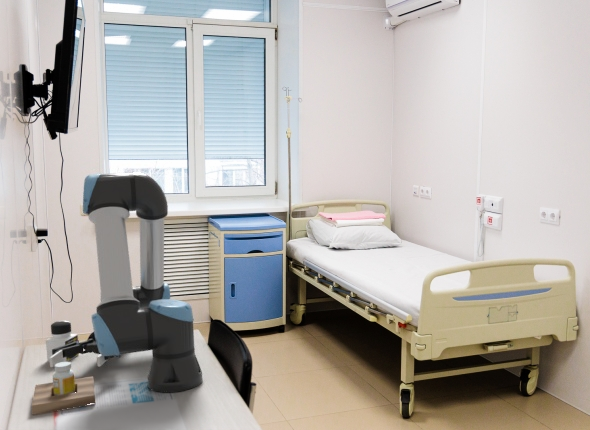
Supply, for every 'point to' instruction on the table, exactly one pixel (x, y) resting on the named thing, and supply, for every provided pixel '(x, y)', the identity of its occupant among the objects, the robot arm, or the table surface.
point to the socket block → (62, 396)
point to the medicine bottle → (60, 338)
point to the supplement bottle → (63, 379)
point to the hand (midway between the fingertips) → (74, 362)
